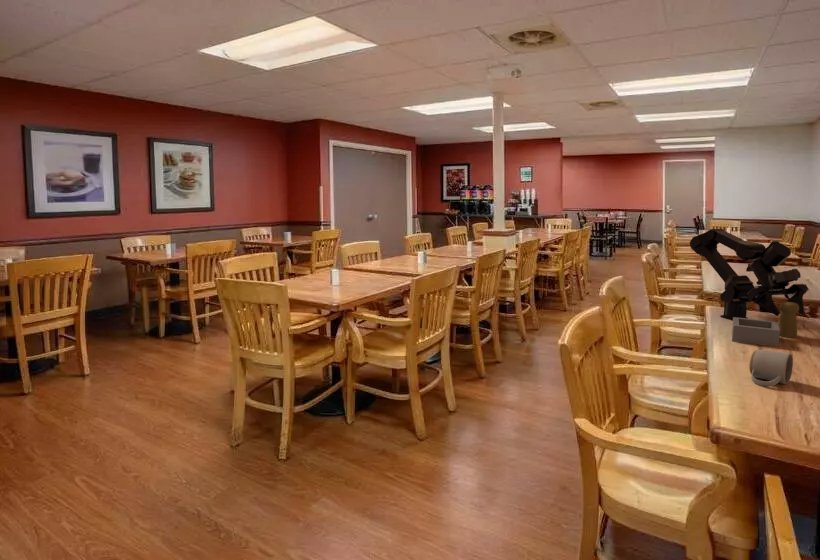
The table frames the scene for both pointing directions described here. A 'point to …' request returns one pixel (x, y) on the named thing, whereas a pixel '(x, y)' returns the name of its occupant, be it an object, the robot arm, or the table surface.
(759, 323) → the holder block
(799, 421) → the table surface
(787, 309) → the cork
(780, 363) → the ceramic mug
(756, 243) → the robot arm
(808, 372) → the table surface
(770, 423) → the table surface
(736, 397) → the table surface
